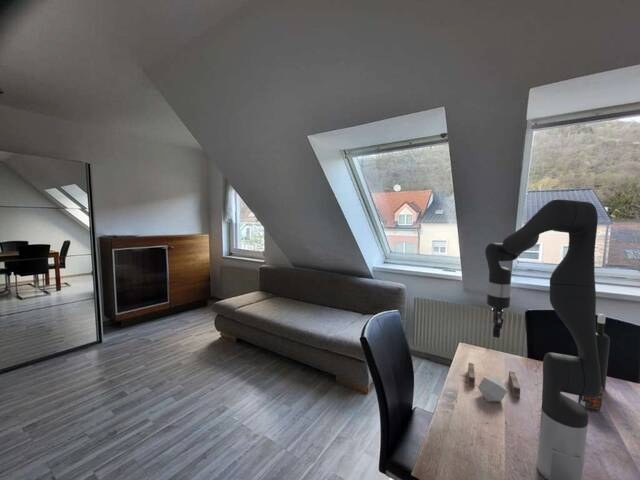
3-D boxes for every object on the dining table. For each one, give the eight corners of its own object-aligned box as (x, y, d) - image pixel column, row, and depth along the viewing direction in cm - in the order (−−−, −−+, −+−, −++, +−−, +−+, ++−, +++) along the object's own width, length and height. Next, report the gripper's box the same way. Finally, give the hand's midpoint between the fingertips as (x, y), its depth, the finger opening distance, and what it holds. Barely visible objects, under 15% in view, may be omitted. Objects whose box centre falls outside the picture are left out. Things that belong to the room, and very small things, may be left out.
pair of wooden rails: (519, 398, 107) (520, 388, 107) (468, 386, 114) (469, 377, 114) (514, 381, 118) (514, 372, 117) (468, 371, 125) (468, 362, 125)
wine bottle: (581, 383, 116) (588, 312, 113) (590, 380, 118) (597, 310, 115) (599, 392, 110) (607, 317, 107) (608, 388, 112) (615, 315, 109)
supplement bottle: (583, 411, 100) (586, 381, 99) (574, 400, 106) (577, 371, 104) (605, 414, 98) (608, 383, 97) (594, 403, 104) (597, 374, 103)
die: (504, 412, 101) (515, 386, 103) (481, 397, 102) (492, 373, 104) (492, 405, 109) (502, 381, 111) (470, 391, 110) (481, 369, 112)
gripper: (513, 299, 103) (510, 345, 105) (507, 290, 115) (504, 332, 116) (489, 297, 106) (486, 341, 108) (486, 288, 118) (483, 328, 120)
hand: (496, 336), depth 112 cm, fingers closed
